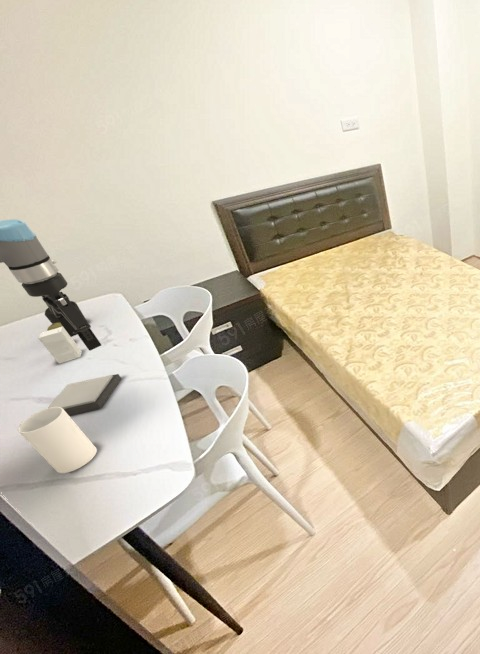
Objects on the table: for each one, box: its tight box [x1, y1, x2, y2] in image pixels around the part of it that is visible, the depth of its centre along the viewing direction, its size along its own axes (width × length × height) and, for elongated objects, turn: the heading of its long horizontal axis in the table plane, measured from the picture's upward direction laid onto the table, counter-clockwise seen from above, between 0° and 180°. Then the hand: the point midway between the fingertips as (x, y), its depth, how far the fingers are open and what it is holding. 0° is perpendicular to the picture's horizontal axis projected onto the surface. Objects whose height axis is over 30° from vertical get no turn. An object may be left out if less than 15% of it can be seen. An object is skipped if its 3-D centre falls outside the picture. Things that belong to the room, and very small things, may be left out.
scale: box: [46, 373, 123, 417], centre depth 126 cm, size 14×14×3 cm
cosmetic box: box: [37, 327, 83, 365], centre depth 143 cm, size 6×4×12 cm
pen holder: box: [44, 300, 88, 327], centre depth 160 cm, size 9×9×10 cm
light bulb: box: [46, 323, 63, 331], centre depth 150 cm, size 6×6×10 cm
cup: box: [17, 407, 98, 474], centre depth 104 cm, size 8×8×16 cm
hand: (85, 340), depth 115 cm, fingers open, 13 cm apart
